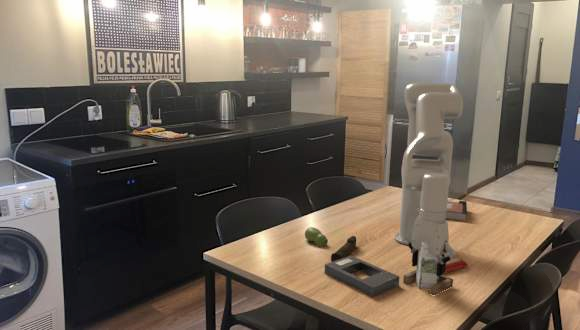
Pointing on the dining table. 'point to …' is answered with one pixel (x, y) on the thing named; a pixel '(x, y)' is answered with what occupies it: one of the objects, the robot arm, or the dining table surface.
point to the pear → (316, 236)
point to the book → (456, 211)
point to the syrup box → (426, 268)
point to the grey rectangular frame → (370, 285)
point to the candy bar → (455, 264)
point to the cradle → (441, 286)
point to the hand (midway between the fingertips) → (427, 269)
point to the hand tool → (344, 249)
